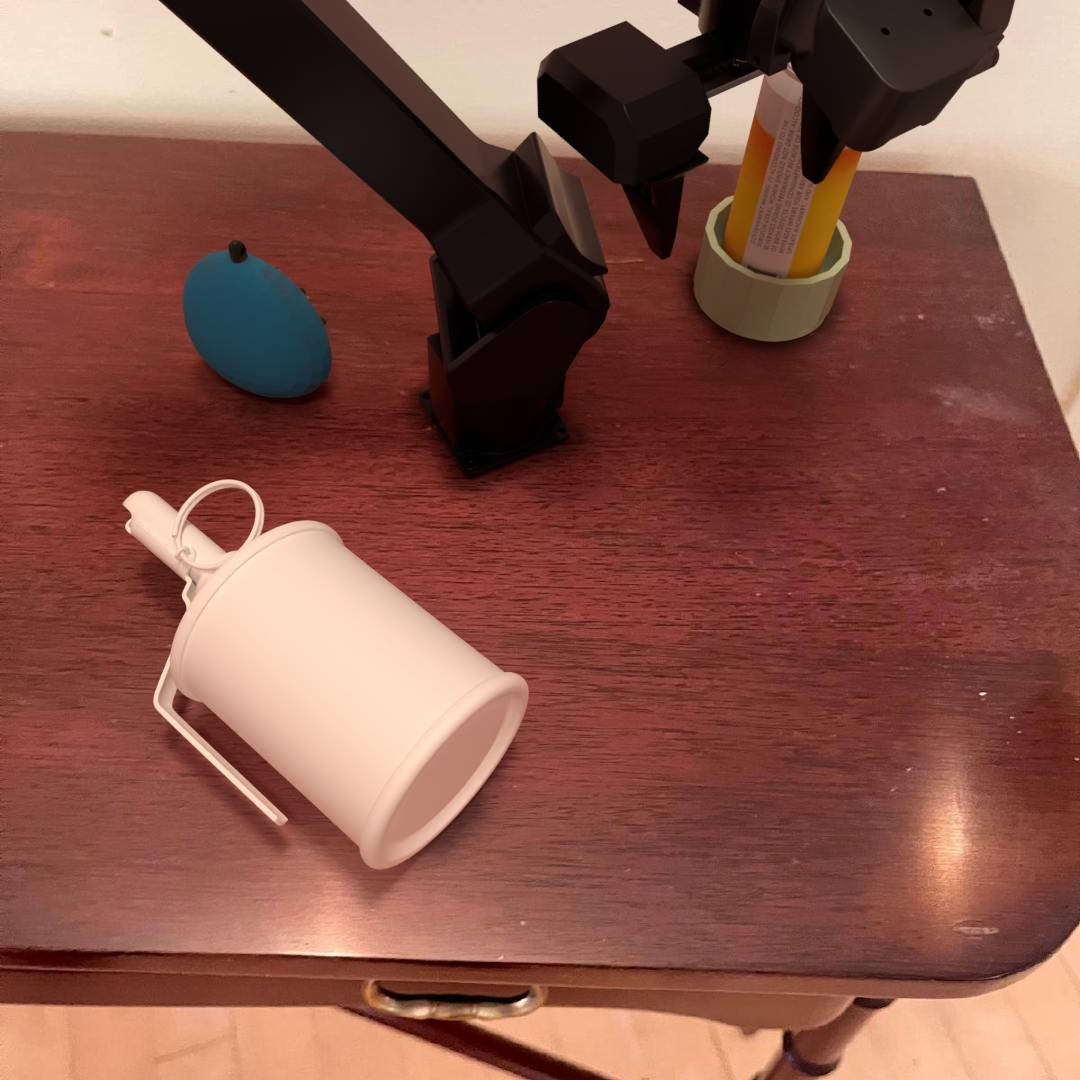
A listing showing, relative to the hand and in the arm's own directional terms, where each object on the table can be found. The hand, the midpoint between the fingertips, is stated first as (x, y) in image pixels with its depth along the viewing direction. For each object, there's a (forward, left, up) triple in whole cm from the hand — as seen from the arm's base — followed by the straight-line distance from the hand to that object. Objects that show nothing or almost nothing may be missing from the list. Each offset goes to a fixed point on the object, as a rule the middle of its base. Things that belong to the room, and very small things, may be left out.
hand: (737, 215), depth 47 cm
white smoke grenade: (-23, -16, -9) cm, 29 cm away
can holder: (+9, +6, -13) cm, 17 cm away
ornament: (-21, +12, -13) cm, 27 cm away
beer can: (+9, +6, -13) cm, 17 cm away
